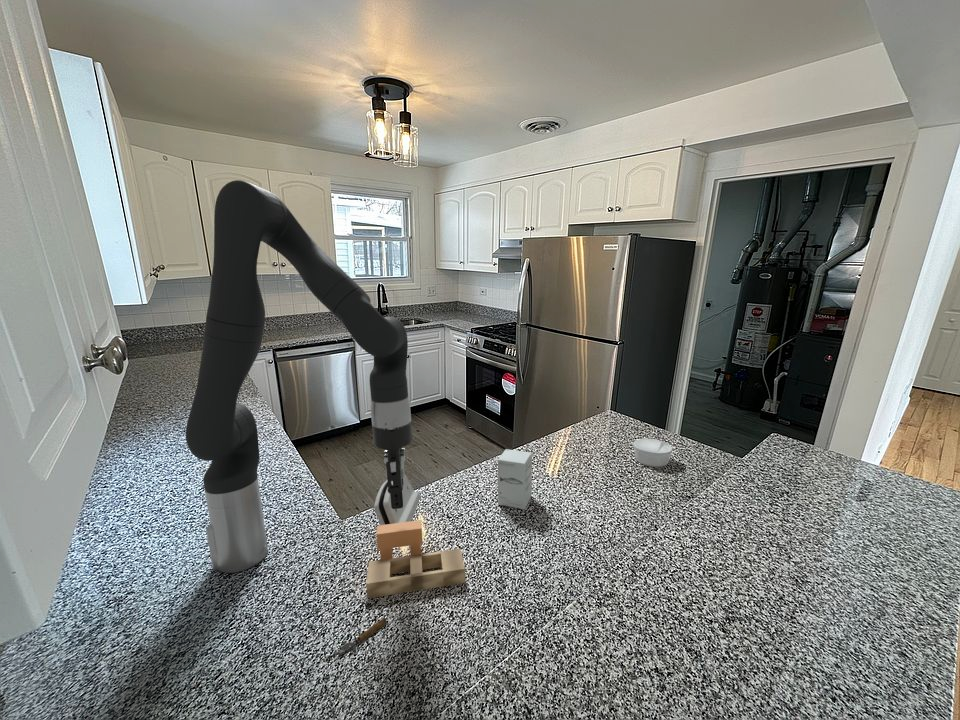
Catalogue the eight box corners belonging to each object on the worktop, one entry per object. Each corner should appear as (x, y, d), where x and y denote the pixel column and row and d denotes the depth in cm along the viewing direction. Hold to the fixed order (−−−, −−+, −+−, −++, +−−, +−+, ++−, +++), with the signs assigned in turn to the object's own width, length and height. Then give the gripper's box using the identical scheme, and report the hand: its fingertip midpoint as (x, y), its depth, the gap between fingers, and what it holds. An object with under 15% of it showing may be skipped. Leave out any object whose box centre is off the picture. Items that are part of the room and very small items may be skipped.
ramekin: (678, 468, 118) (679, 452, 117) (640, 469, 118) (641, 453, 117) (661, 453, 129) (662, 438, 128) (627, 454, 129) (628, 438, 128)
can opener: (384, 621, 67) (384, 615, 66) (391, 630, 65) (390, 624, 65) (331, 654, 61) (330, 648, 61) (337, 664, 59) (336, 658, 59)
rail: (367, 598, 71) (366, 583, 71) (370, 575, 77) (369, 561, 76) (465, 582, 74) (464, 568, 74) (461, 561, 80) (460, 548, 80)
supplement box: (497, 505, 100) (496, 459, 98) (506, 491, 107) (505, 448, 105) (525, 510, 98) (524, 463, 95) (532, 496, 104) (532, 451, 102)
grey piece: (405, 535, 89) (387, 497, 88) (386, 541, 90) (368, 503, 88) (421, 497, 105) (407, 464, 104) (405, 502, 106) (391, 469, 105)
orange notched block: (379, 565, 80) (376, 534, 78) (380, 555, 83) (377, 525, 81) (423, 558, 81) (421, 528, 80) (423, 549, 84) (421, 520, 83)
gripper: (374, 411, 83) (381, 482, 86) (368, 435, 69) (376, 518, 72) (410, 407, 84) (415, 478, 87) (411, 430, 70) (417, 513, 73)
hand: (397, 496), depth 79 cm, fingers open, 8 cm apart
